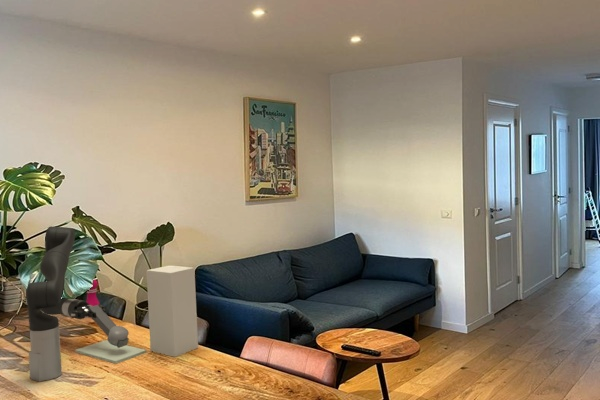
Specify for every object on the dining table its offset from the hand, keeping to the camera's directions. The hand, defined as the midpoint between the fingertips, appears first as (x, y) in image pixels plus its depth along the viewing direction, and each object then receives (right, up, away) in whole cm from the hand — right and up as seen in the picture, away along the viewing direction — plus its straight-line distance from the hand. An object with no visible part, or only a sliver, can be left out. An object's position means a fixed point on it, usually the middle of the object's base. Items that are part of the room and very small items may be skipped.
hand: (100, 313), depth 214 cm
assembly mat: (+5, -15, -2) cm, 16 cm away
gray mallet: (+3, -5, -2) cm, 7 cm away
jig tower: (+30, -14, -2) cm, 33 cm away
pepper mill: (-25, -13, +56) cm, 63 cm away
